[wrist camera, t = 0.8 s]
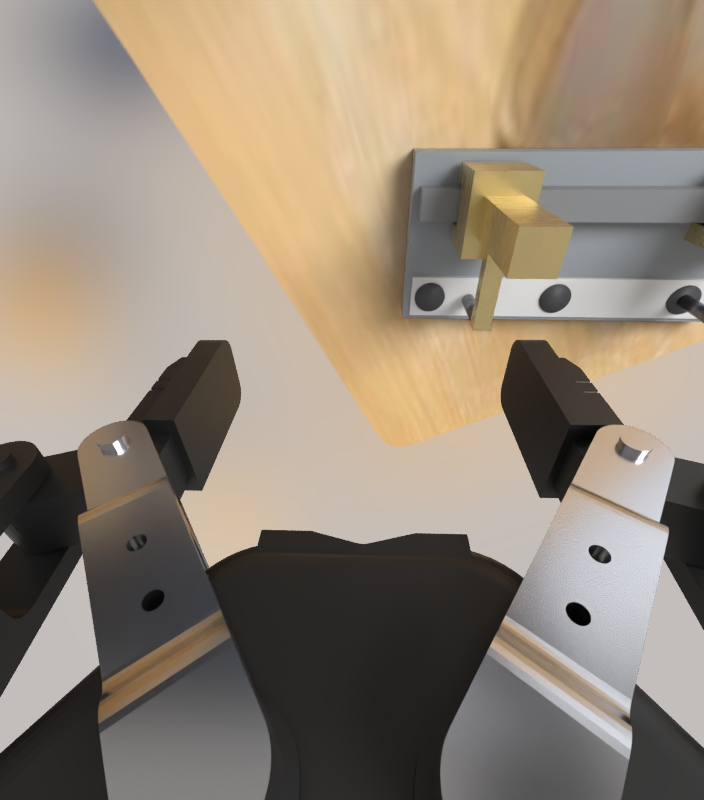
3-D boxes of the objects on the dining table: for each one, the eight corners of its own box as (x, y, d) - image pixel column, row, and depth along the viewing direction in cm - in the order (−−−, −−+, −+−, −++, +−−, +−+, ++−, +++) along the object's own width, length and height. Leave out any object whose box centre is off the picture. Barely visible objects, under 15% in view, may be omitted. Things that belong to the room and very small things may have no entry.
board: (413, 148, 28) (418, 154, 25) (797, 147, 27) (846, 153, 24) (401, 307, 35) (403, 325, 32) (702, 311, 34) (731, 330, 31)
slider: (461, 161, 26) (508, 194, 17) (522, 161, 26) (603, 194, 17) (441, 303, 32) (468, 383, 23) (490, 303, 32) (537, 385, 23)
